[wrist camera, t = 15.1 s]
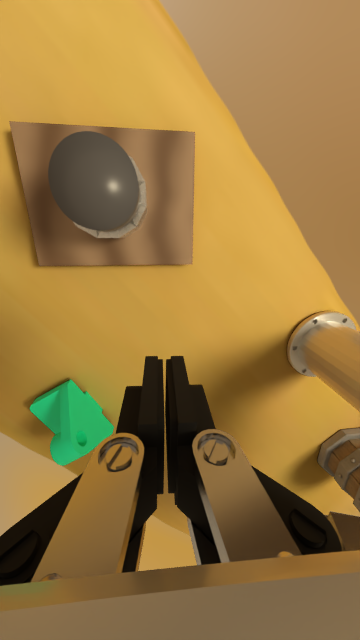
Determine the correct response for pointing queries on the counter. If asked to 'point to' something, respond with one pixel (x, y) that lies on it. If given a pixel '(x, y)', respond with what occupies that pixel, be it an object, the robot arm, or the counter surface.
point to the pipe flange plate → (154, 210)
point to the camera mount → (71, 421)
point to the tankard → (343, 461)
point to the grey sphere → (94, 181)
